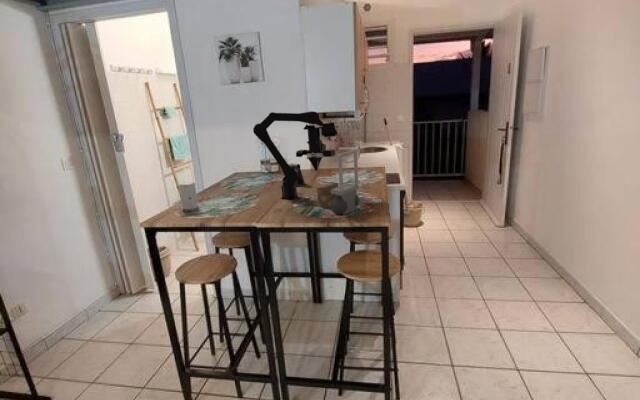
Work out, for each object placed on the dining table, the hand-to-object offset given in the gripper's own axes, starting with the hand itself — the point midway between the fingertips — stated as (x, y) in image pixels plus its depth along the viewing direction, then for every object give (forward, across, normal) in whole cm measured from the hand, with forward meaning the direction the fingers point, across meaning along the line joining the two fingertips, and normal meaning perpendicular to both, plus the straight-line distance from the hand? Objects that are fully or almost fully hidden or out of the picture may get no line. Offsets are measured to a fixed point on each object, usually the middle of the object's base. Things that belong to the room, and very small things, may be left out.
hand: (316, 170), depth 168 cm
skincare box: (+12, +51, +34) cm, 63 cm away
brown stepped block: (+12, -13, +14) cm, 23 cm away
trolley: (+12, -23, +22) cm, 33 cm away
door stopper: (+12, +22, -17) cm, 30 cm away
